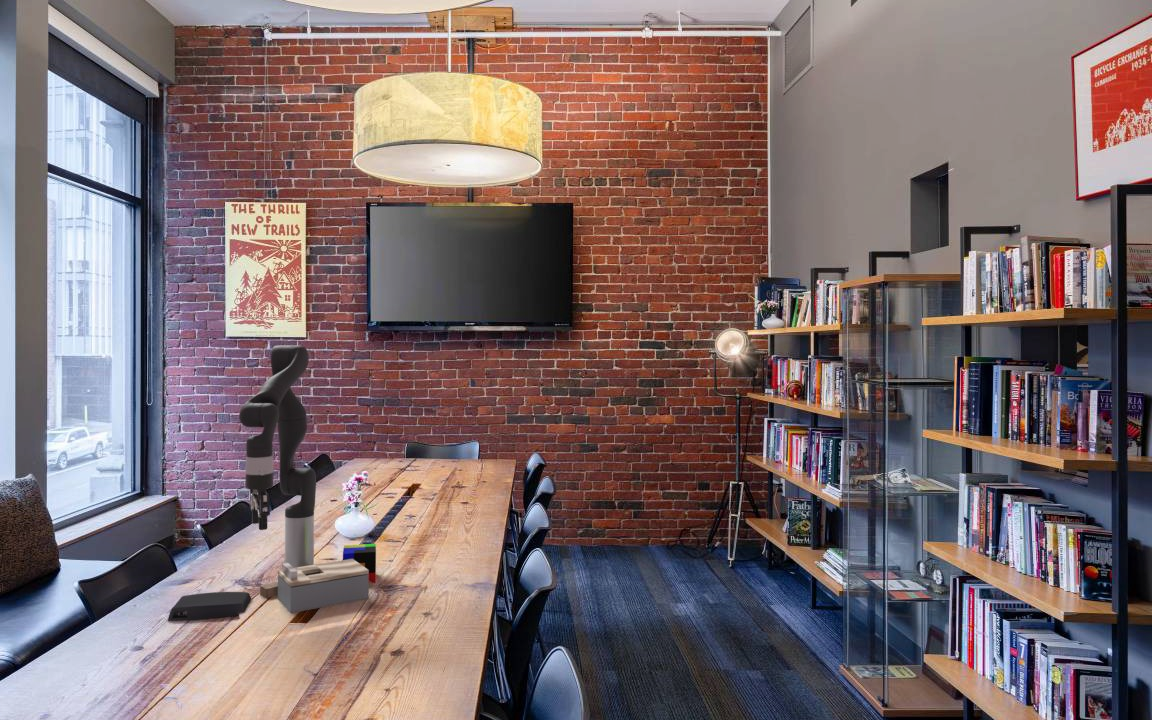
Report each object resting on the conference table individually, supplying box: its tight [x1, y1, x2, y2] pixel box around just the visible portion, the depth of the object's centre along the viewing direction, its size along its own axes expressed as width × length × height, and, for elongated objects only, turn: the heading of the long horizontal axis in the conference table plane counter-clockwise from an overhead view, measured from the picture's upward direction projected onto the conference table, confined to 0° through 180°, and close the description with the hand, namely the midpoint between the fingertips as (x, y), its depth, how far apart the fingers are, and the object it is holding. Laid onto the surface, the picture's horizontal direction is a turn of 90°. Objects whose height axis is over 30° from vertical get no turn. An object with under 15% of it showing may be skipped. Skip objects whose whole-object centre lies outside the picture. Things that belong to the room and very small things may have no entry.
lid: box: [277, 559, 369, 587], centre depth 217 cm, size 14×22×3 cm, turn 125°
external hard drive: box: [167, 591, 252, 622], centre depth 209 cm, size 13×19×4 cm
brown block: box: [259, 581, 278, 599], centre depth 224 cm, size 4×4×15 cm
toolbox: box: [277, 572, 370, 614], centre depth 218 cm, size 14×22×8 cm, turn 125°
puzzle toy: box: [342, 543, 377, 584], centre depth 239 cm, size 10×10×10 cm
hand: (259, 526), depth 218 cm, fingers open, 8 cm apart
